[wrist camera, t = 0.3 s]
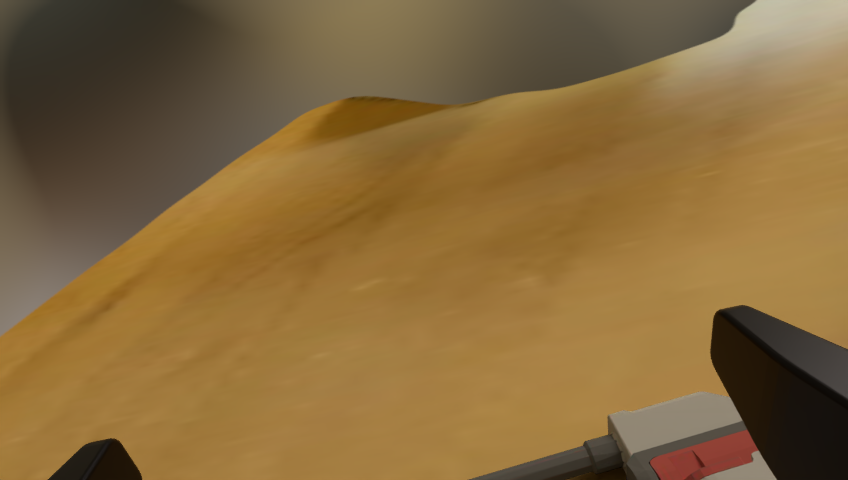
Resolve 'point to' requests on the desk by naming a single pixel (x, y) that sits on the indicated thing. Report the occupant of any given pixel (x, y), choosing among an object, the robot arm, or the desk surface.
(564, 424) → the desk surface
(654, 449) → the red grey elongated piece
